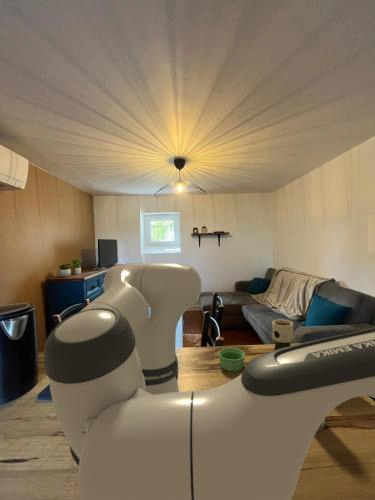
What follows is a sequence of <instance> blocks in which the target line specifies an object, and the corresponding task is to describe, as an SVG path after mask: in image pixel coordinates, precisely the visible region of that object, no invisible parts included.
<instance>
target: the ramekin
mask: <svg viewBox="0 0 375 500" xmlns="http://www.w3.org/2000/svg"><path fill="white" fill-rule="evenodd" d="M245 356H246V353H245V351H242V350H241V349H239V348H236V347H234V348H233V347H225V348H222V349H220V350H219V351H218V357H219V365H220V367H221V368H222V369H223V370H225V371H227V372H238V371H241V370H243V368H244V363H245V358H246V357H245Z"/></svg>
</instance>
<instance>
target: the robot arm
mask: <svg viewBox="0 0 375 500" xmlns="http://www.w3.org/2000/svg"><path fill="white" fill-rule="evenodd" d="M102 285H103V286H102V287H103V291H104V292H103V293H102V294H100V295H99V296H98V297H96V298H95V299H94V300H93V301H91V302H90V303H89V304H88V305H86V306H84V307H83V308H82V309H81V310H80V311H79V312H76V313H74V314H71V315H69V316H68V317H65V318H64V319H63V320H61V321H60V322H59V323H58V324H56V326H55V327H54V328H53V330H52V331H51V332H50V334H49V335H48V336H47V338H46V340H45V343H44V349H43V367H44V373H45V375H46V376H47V377H48V382H49V390H50V395H51V401H52V406H53V409H54V413H55V416H56V419H57V421H58V422H59V424H60V426H61V429H62V431H63V433H64V436H65V439H66V440H67V442H68V444H69V451H70V454H71V456H72V459H73V461H74V462H75V464H76V465H77V466H78V472H77V479H78V481H77V482H78V492H79V497H80V500H292V498H293V495H294V494H295V490H296V488H297V485H298V481H299V477H300V474H301V471H302V467H303V464H304V461H305V459H306V455H307V453H308V450H309V448H310V447H311V443H312V441H313V440H314V438H315V435H316V434H317V432H318V431H319V430H318V428H319V426H320V425H321V423H322V422H323V420H324V421H325V419H326V418H327V416H328V415H329V414H330V413H331V412H332V411H333V410H334V409H335V408H336V407H338V406H339V405H340V404H342V403H344V402H347V401H349V400H350V399H354V398H358V397H363V396H369V397H371V398H373V399H375V327H371V328H366V329H362V330H361V329H360V330H356V331H353V332H352V331H351V332H348V333H343V334H338V335H334V336H329V337H324V338H320V339H315V340H311V341H307V342H302V343H297V344H294V345H291V346H289V347H285V348H281V349H277V350H274V349H273V350H271V351H268V352H265V353H263V354H260V355H258V356H255V357H253V358H252V359H250V360H249V361H248V362H247V364H246V365H245V368H244V369H243V370H242V373H240V374H239V375H237V376H236V377H235V378H233V379H232V380H230V381H228V382H226V383H224V384H222V385H219V386H216V387H212V388H209V389H203V390H188V391H186V390H185V391H180V389H179V388H180V387H179V383H178V380H179V361H178V357H177V354H176V341H177V340H176V336H177V327H178V324H179V321H180V319H181V317H182V316H183V314H184V313H185V312H186V311H187V310H188V309H189V308H191V307H192V306H194V305H195V304H196V302H197V301H199V297H200V295H201V293H202V280H201V277H200V274H199V273H198V271H197V270H196V269H195V267H193V266H189V265H185V264H181V263H177V262H175V263H174V262H173V263H172V262H171V263H170V262H169V263H168V262H166V263H165V262H163V263H162V262H161V263H160V262H158V263H157V262H151V263H150V262H149V263H148V262H147V263H145V262H143V263H141V262H128V263H123V264H117V265H115V266H114V265H113V266H111V267H110V268H109V269H108V270H107V271H106V274H105V275H104V278H103V283H102Z"/></svg>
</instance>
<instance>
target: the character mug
mask: <svg viewBox="0 0 375 500" xmlns="http://www.w3.org/2000/svg"><path fill="white" fill-rule="evenodd" d="M271 324H272V326H271V327H272V339H273V340H274V341H275V344H274V349H273V351H274V350H277V349H281V348H285V347H289V346H292V345H291V343H292V342H294V322H292V321H291V320H288V319H279V318H278V319H274V320H272V323H271Z"/></svg>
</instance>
